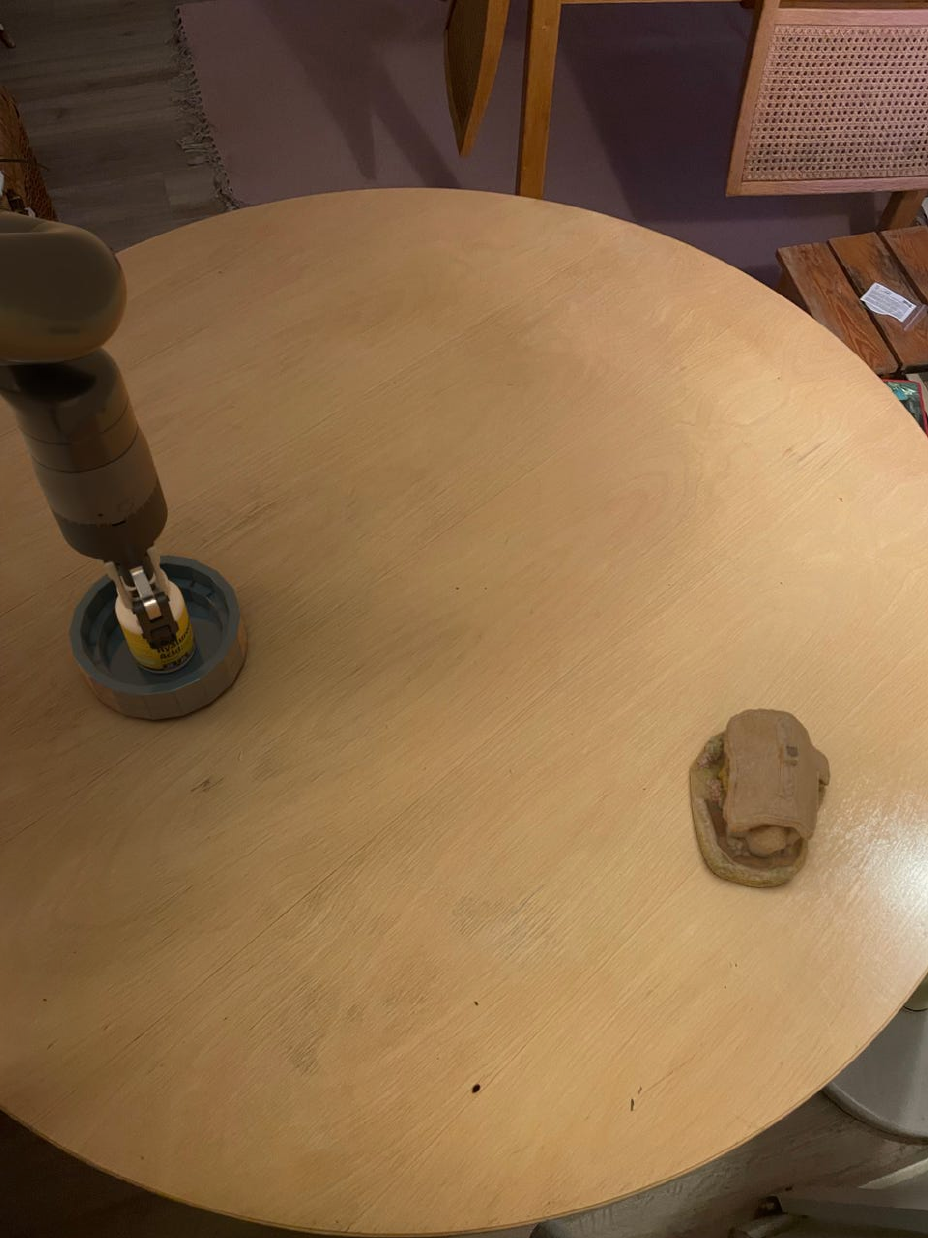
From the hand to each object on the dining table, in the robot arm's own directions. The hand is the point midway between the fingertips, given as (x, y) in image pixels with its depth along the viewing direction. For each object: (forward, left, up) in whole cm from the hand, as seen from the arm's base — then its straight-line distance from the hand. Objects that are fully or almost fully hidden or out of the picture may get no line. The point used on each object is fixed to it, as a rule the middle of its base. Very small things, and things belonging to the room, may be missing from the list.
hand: (151, 614), depth 85 cm
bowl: (0, 0, -6) cm, 6 cm away
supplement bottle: (0, 0, -6) cm, 6 cm away
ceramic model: (+42, -30, -6) cm, 52 cm away
